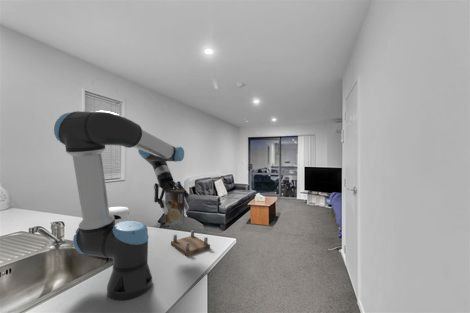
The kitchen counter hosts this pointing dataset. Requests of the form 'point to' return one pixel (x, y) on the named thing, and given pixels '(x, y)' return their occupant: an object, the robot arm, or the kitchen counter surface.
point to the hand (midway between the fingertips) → (177, 211)
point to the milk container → (119, 213)
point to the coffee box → (174, 207)
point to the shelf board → (190, 244)
